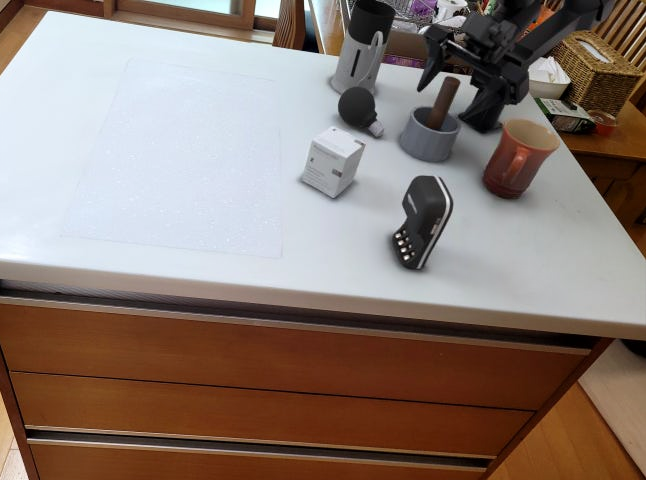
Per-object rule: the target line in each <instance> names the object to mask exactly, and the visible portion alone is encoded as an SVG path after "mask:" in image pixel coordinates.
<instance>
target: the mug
mask: <svg viewBox="0 0 646 480" xmlns="http://www.w3.org/2000/svg"><path fill="white" fill-rule="evenodd" d="M502 124H503V127H502V130H501V135H500V139H499V142H498V144H497V146H496V148H495V149H494V150H493V153H492V154H491V156H490V158H489V160H488V161H487V164H486V165H485V168H484V171H483V173H482V178H481V179H482V183H483V185H484V186H485V188H486V189H487V190H488V191H489V192H490V193H492V194H494V195H495V196H498V197H501V198H504V199H514V198H519V197H521V196H522V195H523V194H524V193H525V192H526V191H527V189H528V188H529V187H531V184H532V183H533V181H534V179H535V177H536V175H538V172H539V170H540V168H541V167H542V165H543V164H544V162H545V161H546V160H547V159H548V158H549V157H550V156H551V155H552V154H553V153H554V152H555V151H557V150H558V149H559V147H560V145H561V141H560V139H559V137H558V136H557V135H556V133H555V132H554V131H552V130H551V129H549V128H548V127H547V126H546V125H545V126H544V125H543V124H541V123H539V122H536V121H533V120H530V119H527V118H520V117H514V118H508V119H507V120H505V121H504V122H503V123H502Z"/></svg>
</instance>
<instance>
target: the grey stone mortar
mask: <svg viewBox="0 0 646 480" xmlns="http://www.w3.org/2000/svg"><path fill="white" fill-rule="evenodd" d="M432 108H433V105H419V106H414V107H413V108H412V109H411V110H410V112H409V115H408V118H407V120H406V123H405V125H404V128H403V131H402V133H401V136H400V141H399V142H400V143H399V144H400V146H401V148H402V149H403V150H404V151H405V152H406V153H408V155H410V156H412V157H414V158H416V159H418V160H421V161H425V162H430V163H431V162H432V163H435V162H436V163H438V162H442V161H445V160H446V159H447V158H448V157H449V154H450V153H451V150H452V149H453V147H454V144H455V142H456V140H457V138H458V136H459V133H460V131H461V128H462V124H461V122H460V120H459V119H458V117H457V116H455V115H454V114H452V113H451V112H449V111H448V113H447V116H446V118H445V120H444V122H443V125H442V127H441V128H442V129H443V131H444V132H439V131H435V130H431V129H429V128H427V127H425V126H423V125H422V123H426V122H427V120H428V118H429V115H430V113H431V110H432Z"/></svg>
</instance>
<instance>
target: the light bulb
mask: <svg viewBox="0 0 646 480" xmlns="http://www.w3.org/2000/svg"><path fill="white" fill-rule="evenodd" d="M337 112H338V114H339V116H340V118H341V119H342V120H343V121H344V122H345V123H346V124H348V125H351V126H359V127H360V128H361V129H365V128H367V130H369V131H370V133H371V134H372V135H373V136H374V137H375V138H378V137H381V136H383V135H384V131H385V129H386V128H385V127H384V126H383V124H382V123H381V122H379V120H378V118H377V117H378V112H377V111H376V101H375V97H374V94H373V95H372V94H371V92H370V91H369V90H367V89H365V88H363V87H352V88H349V89H347V90H346V91H345V92H344V93H343V94H341V95H340V97H339V98H338V103H337Z"/></svg>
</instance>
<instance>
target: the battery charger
mask: <svg viewBox="0 0 646 480" xmlns="http://www.w3.org/2000/svg"><path fill="white" fill-rule="evenodd" d="M401 206H402V209H403V210H404V213H405V215H406V218H405V220H404V222H403V224H402V225H401V226H400V227H399V228H398V229H397V230H395V232H394V233H393V234H392V236H391V240H392V243H393V246H394V249H395V252H396V254H397V257H398V259H399V261H400V263H401V264H402V265H403V266H404V267H407V268H412V269H423V268H425V266H426V263H427V262H428V259H429V258H430V256H431V254H432V253H433V250H434V248H435V246H436V245H437V243H438V242H439V240H440V237H441V236H442V235H443V234H442V233H443V232H444V230H445V228H446V226H447V225H448V222H449V220H450V218H451V216H452V214H453V210H454V198H453V197H452V195H451V193H450V190H449V188H448V187H447V185H446V183H445V181H444V179H443V178H442V177H440V176H438V175H435V174H432V175H426V174H425V175H424V174H422V175H417V176H415V177H414V178H413V179H412V180H411V182H410V183H409V185H408V187H407V189H406V191H405V194H404V195H403V199H402V201H401Z"/></svg>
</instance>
